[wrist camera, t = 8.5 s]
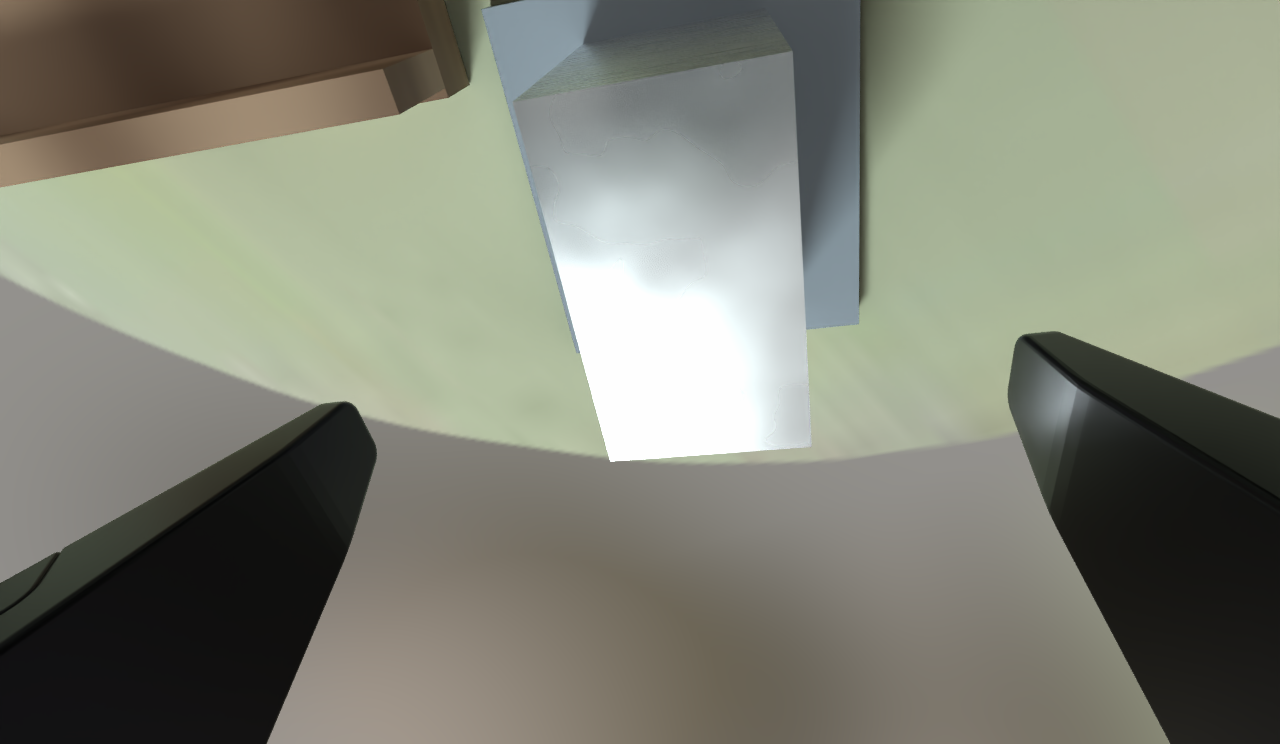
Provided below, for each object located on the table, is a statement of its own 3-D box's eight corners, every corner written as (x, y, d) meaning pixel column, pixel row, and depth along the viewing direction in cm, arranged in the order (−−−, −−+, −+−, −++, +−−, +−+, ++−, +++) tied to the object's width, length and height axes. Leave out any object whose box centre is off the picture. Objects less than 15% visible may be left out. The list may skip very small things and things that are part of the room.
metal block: (765, 8, 14) (792, 50, 9) (784, 300, 17) (811, 447, 12) (583, 43, 14) (512, 102, 9) (640, 317, 18) (610, 461, 13)
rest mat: (855, -71, 13) (860, -71, 13) (855, 313, 18) (858, 323, 18) (488, 6, 15) (481, 9, 14) (580, 342, 19) (576, 353, 19)
